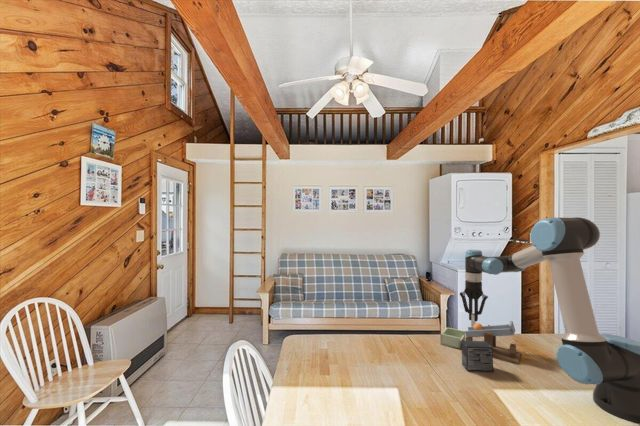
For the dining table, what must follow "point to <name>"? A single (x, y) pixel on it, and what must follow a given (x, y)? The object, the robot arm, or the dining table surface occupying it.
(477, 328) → the ball
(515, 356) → the stand
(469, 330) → the lever
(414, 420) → the dining table surface
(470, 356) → the small box
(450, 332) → the dish
